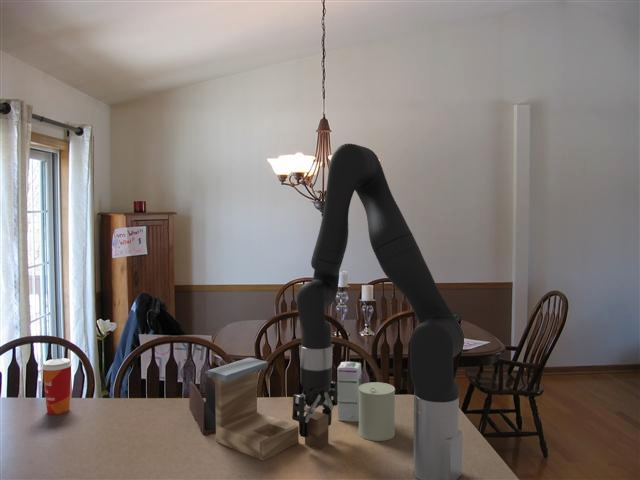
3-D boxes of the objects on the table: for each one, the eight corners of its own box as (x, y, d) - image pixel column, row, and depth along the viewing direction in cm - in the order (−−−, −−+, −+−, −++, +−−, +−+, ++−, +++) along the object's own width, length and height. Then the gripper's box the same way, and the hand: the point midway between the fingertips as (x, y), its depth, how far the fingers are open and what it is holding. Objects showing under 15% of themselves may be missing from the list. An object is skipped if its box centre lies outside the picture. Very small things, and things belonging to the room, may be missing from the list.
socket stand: (301, 440, 130) (300, 369, 129) (260, 462, 119) (259, 385, 118) (250, 422, 141) (249, 357, 140) (208, 441, 130) (207, 370, 129)
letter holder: (223, 403, 156) (223, 355, 155) (241, 429, 138) (241, 375, 137) (188, 408, 152) (187, 359, 151) (202, 435, 134) (201, 380, 133)
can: (352, 436, 133) (352, 388, 132) (366, 423, 141) (366, 378, 140) (387, 444, 128) (387, 394, 127) (400, 429, 136) (400, 383, 136)
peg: (328, 443, 129) (328, 414, 128) (318, 449, 126) (317, 420, 125) (315, 438, 131) (315, 411, 131) (305, 444, 128) (304, 416, 128)
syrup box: (359, 422, 141) (359, 368, 140) (337, 420, 142) (337, 367, 141) (362, 414, 147) (362, 362, 146) (340, 412, 148) (340, 360, 147)
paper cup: (43, 408, 152) (41, 359, 151) (73, 404, 155) (71, 356, 154) (42, 418, 145) (40, 367, 144) (73, 413, 148) (71, 363, 147)
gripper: (309, 374, 119) (308, 445, 121) (346, 360, 131) (345, 425, 132) (284, 368, 124) (284, 436, 125) (322, 354, 135) (321, 417, 136)
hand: (315, 430), depth 129 cm, fingers open, 8 cm apart
